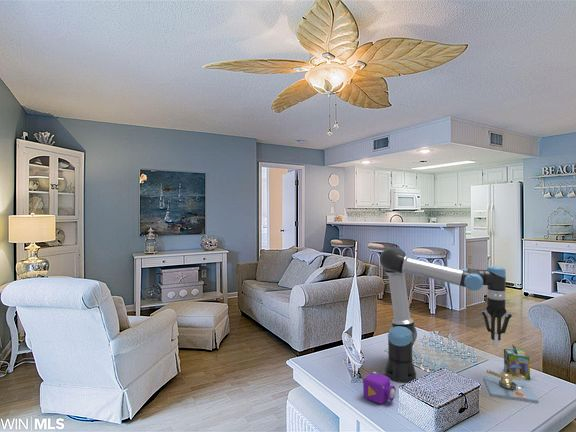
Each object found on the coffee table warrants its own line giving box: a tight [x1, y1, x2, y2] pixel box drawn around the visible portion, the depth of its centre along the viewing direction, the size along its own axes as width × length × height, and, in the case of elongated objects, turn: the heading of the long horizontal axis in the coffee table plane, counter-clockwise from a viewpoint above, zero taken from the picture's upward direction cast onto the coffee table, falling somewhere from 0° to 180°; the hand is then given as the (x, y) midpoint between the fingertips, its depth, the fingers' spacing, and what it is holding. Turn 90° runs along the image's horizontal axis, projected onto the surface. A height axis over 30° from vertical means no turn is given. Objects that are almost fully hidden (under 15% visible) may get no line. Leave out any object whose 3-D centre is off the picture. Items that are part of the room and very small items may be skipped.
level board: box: [482, 376, 540, 404], centre depth 157 cm, size 18×17×2 cm
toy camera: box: [362, 371, 397, 405], centre depth 150 cm, size 11×14×10 cm
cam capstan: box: [486, 369, 526, 394], centre depth 157 cm, size 16×17×6 cm
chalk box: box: [503, 344, 531, 380], centre depth 172 cm, size 9×9×15 cm
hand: (495, 346), depth 164 cm, fingers closed
